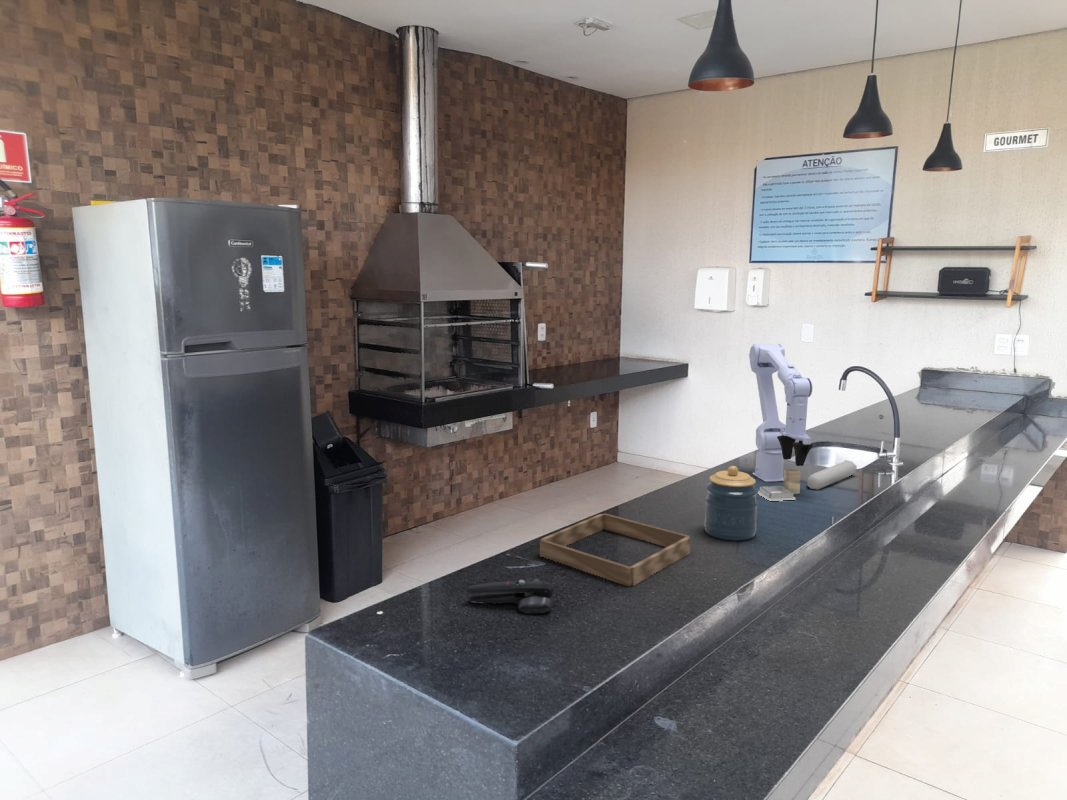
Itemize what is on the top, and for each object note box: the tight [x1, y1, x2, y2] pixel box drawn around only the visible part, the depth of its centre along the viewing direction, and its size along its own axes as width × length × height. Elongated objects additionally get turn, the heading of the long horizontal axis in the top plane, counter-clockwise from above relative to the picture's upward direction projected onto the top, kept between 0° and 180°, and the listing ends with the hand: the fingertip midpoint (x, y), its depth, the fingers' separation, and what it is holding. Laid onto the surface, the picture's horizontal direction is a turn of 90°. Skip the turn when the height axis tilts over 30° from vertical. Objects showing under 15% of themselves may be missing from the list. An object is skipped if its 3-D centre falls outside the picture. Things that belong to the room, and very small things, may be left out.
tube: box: [806, 459, 858, 491], centre depth 234 cm, size 5×5×25 cm
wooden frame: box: [539, 513, 692, 587], centre depth 174 cm, size 26×26×4 cm
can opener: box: [466, 579, 554, 614], centre depth 147 cm, size 18×7×6 cm, turn 79°
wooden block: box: [782, 467, 802, 495], centre depth 223 cm, size 4×4×7 cm
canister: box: [703, 465, 760, 542], centre depth 187 cm, size 13×13×18 cm
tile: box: [756, 490, 796, 502], centre depth 218 cm, size 8×8×1 cm
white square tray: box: [759, 485, 795, 499], centre depth 218 cm, size 8×8×2 cm
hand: (793, 462), depth 222 cm, fingers open, 7 cm apart
